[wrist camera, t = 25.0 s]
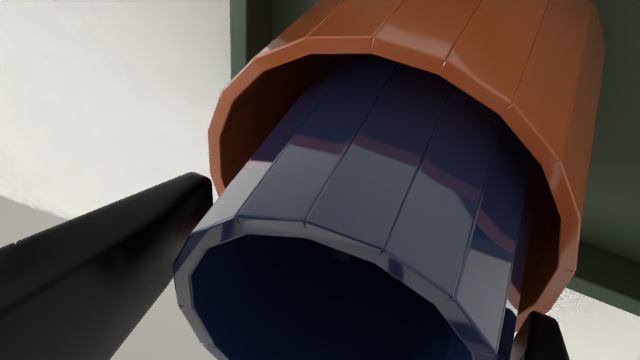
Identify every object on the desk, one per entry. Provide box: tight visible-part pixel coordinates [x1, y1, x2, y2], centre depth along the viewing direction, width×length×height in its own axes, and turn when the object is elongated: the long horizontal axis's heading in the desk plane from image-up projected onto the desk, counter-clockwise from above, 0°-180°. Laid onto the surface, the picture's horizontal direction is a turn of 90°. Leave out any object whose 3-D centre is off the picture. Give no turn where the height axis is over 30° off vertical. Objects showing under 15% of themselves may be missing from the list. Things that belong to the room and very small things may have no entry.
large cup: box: [208, 0, 606, 333], centre depth 13 cm, size 7×7×7 cm
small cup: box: [172, 54, 540, 360], centre depth 11 cm, size 5×5×6 cm
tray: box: [230, 0, 640, 316], centre depth 15 cm, size 15×12×2 cm
